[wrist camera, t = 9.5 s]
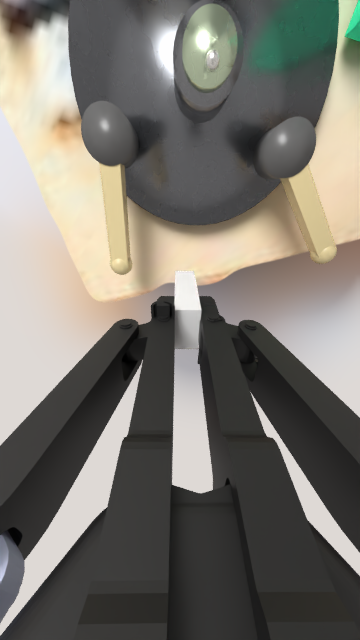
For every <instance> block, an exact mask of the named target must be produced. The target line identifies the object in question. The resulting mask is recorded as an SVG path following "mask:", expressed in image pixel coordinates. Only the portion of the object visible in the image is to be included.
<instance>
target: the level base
mask: <svg viewBox="0 0 360 640" xmlns="http://www.w3.org/2000/svg"><path fill="white" fill-rule="evenodd" d="M338 23H339V3H338V0H70V8H69V20H68V31H69V57H70V67H71V76H72V81H73V86H74V92H75V97H76V101H77V105H78V108H79V112H80V115H81V119H82V118H83V115H84V113H85V111H86V109H87V108H88V107H89V106H90V105H91V104H92V103H94V102H97V101H107V102H110V103H112V104H114V105H115V106H117V107H118V108H119V109H120V110H121V111H122V112H123V114H124V115H125V116H126V118H127V119H128V121H129V122H130V123H131V125H132V126H133V128H134V129H135V131H136V134H137V137H138V141H139V151H138V156H137V158H136V160H135V162H134V163H133V164H132V165H131V166H130V167H128V168H126V169H125V181H126V195H127V196H128V197H129V198H130V199H132V200H133V201H134V202H135V203H137V204H138V205H139V206H140V207H142V208H143V209H145V210H147V211H148V212H150V213H152V214H153V215H156V216H158V217H160V218H162V219H165V220H168V221H171V222H175V223H179V224H186V225H207V224H213V223H218V222H221V221H225V220H228V219H231V218H233V217H235V216H237V215H240V214H242V213H243V212H245V211H247V210H248V209H250V208H252V207H253V206H255V205H256V204H257V203H259V202H260V201H261V200H263V199H264V198H265V197H266V196H267V195H268V194H269V193H271V192H272V191H273V190H274V189H275V188H276V187H277V186H278V185H279V183H280V182H281V180H280V179H271V180H268V179H264V178H262V177H260V176H259V175H258V174H257V172H256V171H255V168H254V164H253V155H254V151H255V148H256V145H257V143H258V142H259V140H260V139H261V137H262V136H263V135H264V134H265V133H267V132H268V131H270V130H271V129H273V128H274V127H276V126H277V125H279V124H280V123H282V122H284V121H285V120H287V119H289V118H292V117H303V118H306V119H307V120H309V121H310V122H311V124H312V125H313V127H314V128H315V126H316V124H317V121H318V119H319V116H320V114H321V111H322V108H323V105H324V102H325V99H326V96H327V92H328V88H329V84H330V80H331V76H332V72H333V66H334V60H335V54H336V48H337V36H338Z"/></svg>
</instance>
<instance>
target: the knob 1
mask: <svg viewBox="0 0 360 640" xmlns="http://www.w3.org/2000/svg"><path fill="white" fill-rule="evenodd" d="M81 131H82V138H83V141H84V144H85V146H86V148H87V150H88V151H89V153H90V154H91V155H92V157H93V158H94V159H96V160H97V161H98V162H99V164H100V173H101V182H102V190H103V199H104V207H105V216H106V225H107V233H108V242H109V251H110V259H111V260H110V266H111V268H112V270H113V271H114V272H115V273H117V274H120V275H124V274H127V273H128V272H130V270H131V269H132V260H131V257H130V242H129V227H128V212H127V197H126V181H125V169H126V168H128V167H130V166H131V165H132V164H133V163H134V162H135V160H136V158H137V156H138V151H139V141H138V137H137V134H136V131H135V129H134V128H133V126H132V125H131V123H130V122H129V121H128V119H127V118H126V116H125V115H124V114H123V112H122V111H121V110H120V109H119V108H118V107H117V106H115V105H114V104H112V103H110V102H107V101H97V102H94V103H92V104H91V105H90V106H89V107H88V108H87V109H86V111H85V113H84V115H83V118H82V123H81Z"/></svg>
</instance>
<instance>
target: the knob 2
mask: <svg viewBox="0 0 360 640" xmlns="http://www.w3.org/2000/svg"><path fill="white" fill-rule="evenodd" d="M315 145H316V134H315V130H314V127H313V125H312V124H311V122H310V121H309V120H307V119H306V118H303V117H292V118H289V119H287V120H285V121H284V122H282V123H280V124H279V125H277V126H276V127H274V128H273V129H271V130H270V131H268V132H267V133H265V134H264V135H263V136H262V137H261V139H260V140H259V142H258V143H257V145H256V148H255V151H254V155H253V164H254V168H255V171H256V172H257V174H258V175H259V176H260V177H262V178H264V179H268V180H271V179H280V180H281V182H282V185H283V187H284V190H285V192H286V195H287V197H288V200H289V202H290V205H291V207H292V210H293V212H294V215H295V217H296V220H297V222H298V225H299V227H300V230H301V232H302V235H303V237H304V240H305V242H306V245H307V247H308V250H309V252H310V257H311V259H312V260H313V261H314V262H315V263H319V264H324V263H327V262H329V261H331V260H332V259H333V258H334V257H335V255H336V252H337V249H336V246H335V243H334V240H333V237H332V234H331V231H330V228H329V225H328V222H327V219H326V216H325V213H324V210H323V207H322V204H321V201H320V198H319V195H318V192H317V189H316V186H315V183H314V180H313V177H312V174H311V171H310V168H309V165H308V163H309V161H310V159H311V157H312V155H313V153H314V150H315Z"/></svg>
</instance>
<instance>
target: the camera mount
mask: <svg viewBox="0 0 360 640" xmlns="http://www.w3.org/2000/svg"><path fill="white" fill-rule="evenodd" d="M345 37H347V38H350V39H353V40H357V41H360V0H358V3H357V5H356V8H355V11H354V13H353V16H352V18H351V21H350V24H349V26H348V29H347V31H346V34H345Z"/></svg>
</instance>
